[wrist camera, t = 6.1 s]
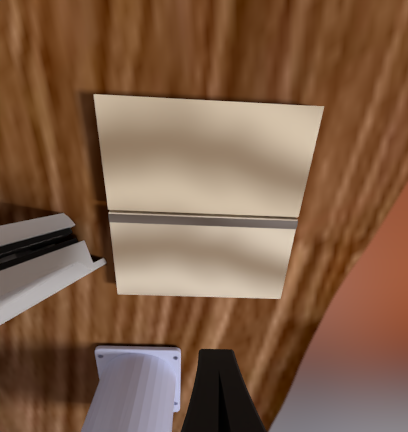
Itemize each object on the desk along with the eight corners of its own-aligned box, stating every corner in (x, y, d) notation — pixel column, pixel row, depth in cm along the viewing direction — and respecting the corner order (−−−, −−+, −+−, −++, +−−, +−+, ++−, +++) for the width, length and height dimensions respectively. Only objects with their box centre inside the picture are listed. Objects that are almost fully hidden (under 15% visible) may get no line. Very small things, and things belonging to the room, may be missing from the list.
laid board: (276, 288, 21) (280, 299, 20) (122, 284, 21) (117, 294, 19) (291, 213, 18) (297, 220, 17) (114, 206, 18) (107, 212, 17)
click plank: (292, 210, 18) (298, 217, 17) (113, 202, 18) (107, 209, 17) (315, 106, 15) (324, 106, 14) (101, 94, 15) (93, 94, 14)
